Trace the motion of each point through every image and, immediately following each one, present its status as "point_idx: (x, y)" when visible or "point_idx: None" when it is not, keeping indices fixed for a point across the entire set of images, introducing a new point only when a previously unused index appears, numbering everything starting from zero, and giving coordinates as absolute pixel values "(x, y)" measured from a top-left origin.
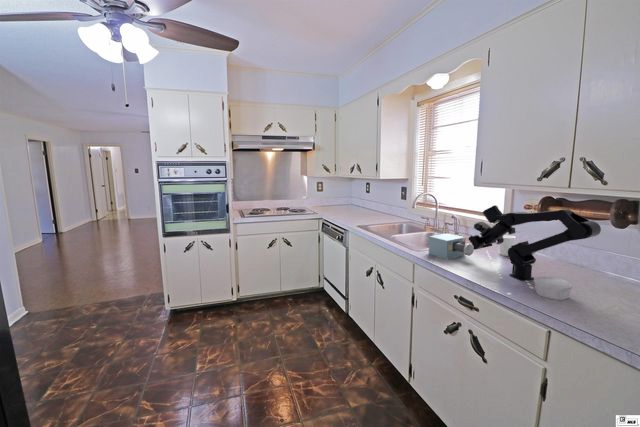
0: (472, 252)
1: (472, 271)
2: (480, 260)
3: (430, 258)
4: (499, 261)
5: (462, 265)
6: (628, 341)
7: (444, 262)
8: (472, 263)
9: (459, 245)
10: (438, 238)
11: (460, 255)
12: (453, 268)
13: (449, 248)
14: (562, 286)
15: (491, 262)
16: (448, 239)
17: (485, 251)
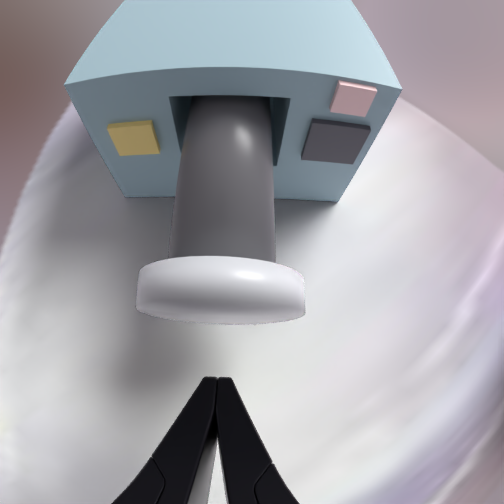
0: (274, 321)
1: (53, 466)
2: (337, 358)
3: (76, 143)
4: (428, 432)
5: (90, 361)
6: None
7: (57, 239)
8: (201, 379)
9: (186, 172)
10: (110, 21)
11: (290, 195)
12: (6, 354)
13: (122, 146)
14: None
15: (363, 432)
16: (132, 53)
17: (499, 228)
